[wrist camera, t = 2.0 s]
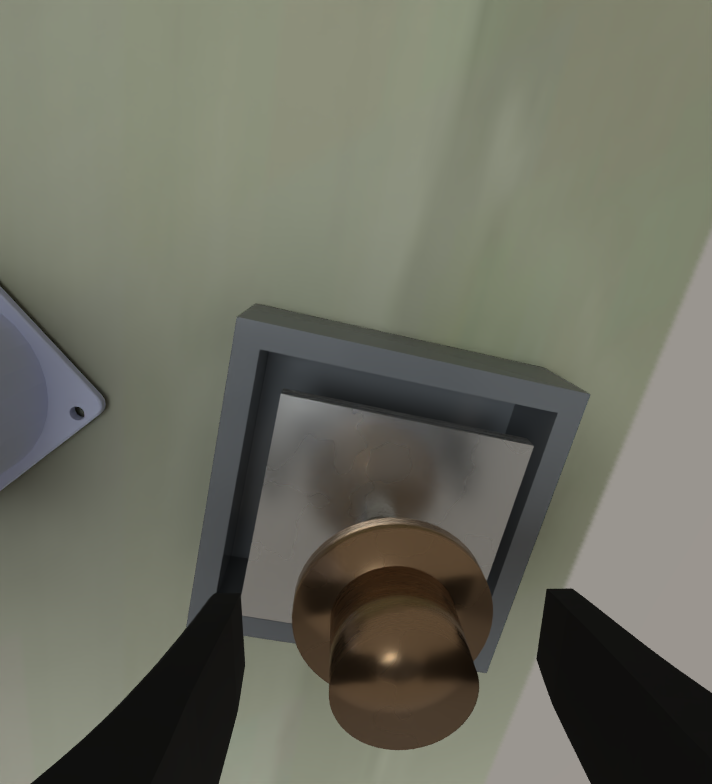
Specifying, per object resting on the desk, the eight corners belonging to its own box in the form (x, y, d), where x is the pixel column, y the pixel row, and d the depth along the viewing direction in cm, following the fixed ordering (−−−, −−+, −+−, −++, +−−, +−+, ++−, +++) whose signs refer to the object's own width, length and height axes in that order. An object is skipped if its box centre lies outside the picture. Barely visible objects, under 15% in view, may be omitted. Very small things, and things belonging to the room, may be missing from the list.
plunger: (457, 637, 17) (523, 847, 11) (240, 602, 17) (187, 806, 10) (526, 438, 15) (651, 563, 9) (282, 387, 15) (246, 488, 8)
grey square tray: (463, 607, 22) (486, 672, 18) (210, 564, 21) (186, 626, 17) (544, 367, 19) (590, 394, 15) (255, 303, 18) (236, 316, 14)
